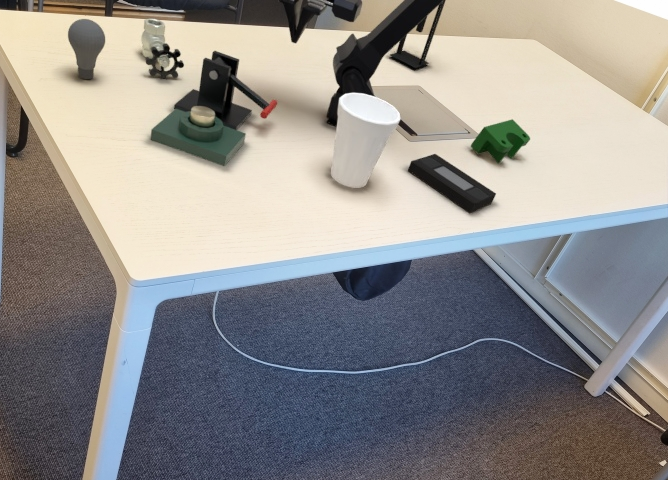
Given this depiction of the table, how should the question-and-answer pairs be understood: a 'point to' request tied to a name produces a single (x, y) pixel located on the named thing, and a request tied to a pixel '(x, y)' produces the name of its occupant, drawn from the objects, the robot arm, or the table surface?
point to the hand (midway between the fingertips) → (294, 42)
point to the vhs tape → (452, 182)
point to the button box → (198, 137)
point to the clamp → (501, 140)
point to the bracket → (217, 92)
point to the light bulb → (86, 45)
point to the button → (202, 116)
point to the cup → (361, 137)
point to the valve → (158, 49)
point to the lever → (251, 93)
